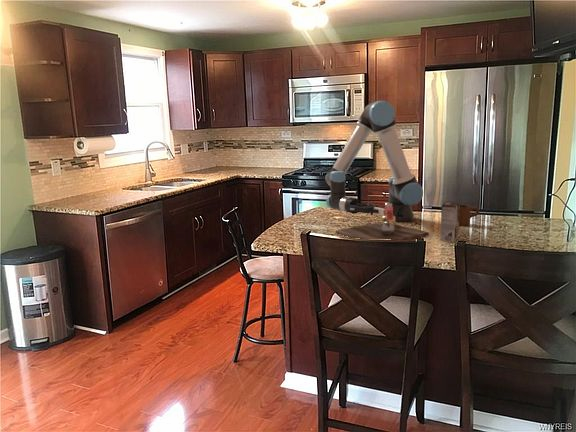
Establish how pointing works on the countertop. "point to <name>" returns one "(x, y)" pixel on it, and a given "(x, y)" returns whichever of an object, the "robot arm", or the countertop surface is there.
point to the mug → (466, 214)
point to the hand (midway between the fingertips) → (384, 212)
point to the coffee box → (450, 221)
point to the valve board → (375, 232)
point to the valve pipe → (388, 226)
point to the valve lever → (389, 211)
